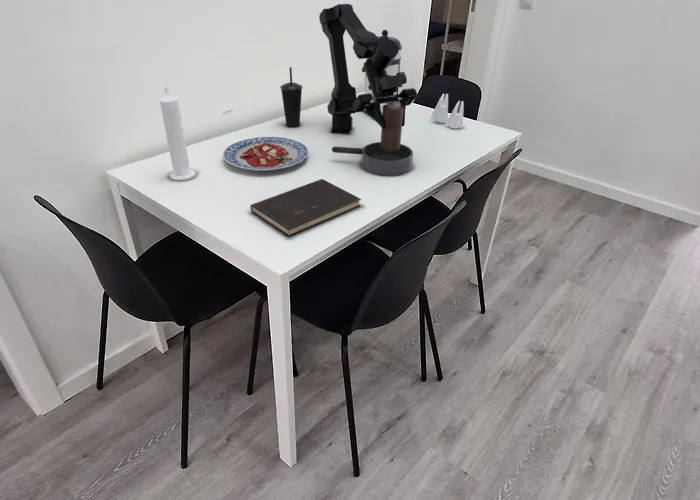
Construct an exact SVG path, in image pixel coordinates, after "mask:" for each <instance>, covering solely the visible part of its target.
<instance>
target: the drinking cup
mask: <svg viewBox="0 0 700 500" xmlns="http://www.w3.org/2000/svg"><path fill="white" fill-rule="evenodd" d="M279 88H280V91H281V97H282V104H283V112H284V117H285V118H284V120H285V125H286V127H288V128H297V127H300V126H301V110H302V109H301V108H302V92H303V91H302V90H303V85H301V84H299V83H298V82H293V69H292V67H291V66H290V67H289V82H285V83H284V84H281V85H280V87H279Z"/></svg>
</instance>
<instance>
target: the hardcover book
mask: <svg viewBox="0 0 700 500" xmlns="http://www.w3.org/2000/svg"><path fill="white" fill-rule="evenodd" d="M361 200H362V198H360V197H359V196H356V195H354V194H352V193H350V192H348V191H346V190H345V189H343V188H342V187H341V188H340V187H339V186H337V185H336V184H333V183H331V182H329V181H327V180H325V179H323V178H320V179H318V180H315V181H312V182H310V183H306V184H304V185H301V186H298V187H296V188H293V189H290V190H287V191H285V192H282V193H280V194H279V193H278V194H277V195H274V196H271V197H268V198H265V199H263V200H260V201H257V202H255V203H252V204H250V207H249V208H250V212H251V213H252V214H254V215H255V217H258V218H259V219H261V220H262V221H264V222H265V223H267V224H268V225H270V226H271V227H273V228H274V229H276V230H277V231H279V232H280V233H282V234H283V235H284V236H286V237H287V238H291V237H293V236H296V235H299V234H301V233H303V232H305V231H308V230H309V229H312V228H315V227H316V226H319V225H321V224H324V223H326V222H328V221H331V220H333V219H335V218H337V217H339V216H342V215H344V214H346V213H349V212H352V211H353V210H356V209H358V208H360V207H362V205H360V202H361Z"/></svg>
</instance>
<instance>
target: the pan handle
mask: <svg viewBox="0 0 700 500" xmlns="http://www.w3.org/2000/svg"><path fill="white" fill-rule="evenodd" d="M362 150H364V152H365V154H367V150H366V149H363V147H361V148H360V147H346V146H332V148H331V152H332V153H335V154H350V155H361V156H362Z"/></svg>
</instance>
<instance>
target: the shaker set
mask: <svg viewBox="0 0 700 500" xmlns="http://www.w3.org/2000/svg"><path fill="white" fill-rule="evenodd" d="M464 105H465V104H464V100H462V101H461V100H458V101H457V102H456V104H455V106H454V107H453V110H452V111H451V113H450V114H449V93H446V94H445V93H442V95H441V96H440V97H439V100H438V101H437V104H436V106H435V107H434V109H433V112H432V113H431V115H430V119H431V120H433V121H436V122H437V123H439V124H440V123H441V124H443V123H444V122H445V126H447V127H449V128H451V129H456V130H458V129H463V126H464V125H463V124H464V111H465V108H464V107H465V106H464Z"/></svg>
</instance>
